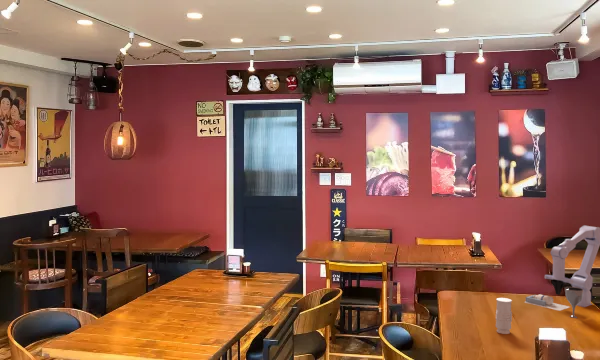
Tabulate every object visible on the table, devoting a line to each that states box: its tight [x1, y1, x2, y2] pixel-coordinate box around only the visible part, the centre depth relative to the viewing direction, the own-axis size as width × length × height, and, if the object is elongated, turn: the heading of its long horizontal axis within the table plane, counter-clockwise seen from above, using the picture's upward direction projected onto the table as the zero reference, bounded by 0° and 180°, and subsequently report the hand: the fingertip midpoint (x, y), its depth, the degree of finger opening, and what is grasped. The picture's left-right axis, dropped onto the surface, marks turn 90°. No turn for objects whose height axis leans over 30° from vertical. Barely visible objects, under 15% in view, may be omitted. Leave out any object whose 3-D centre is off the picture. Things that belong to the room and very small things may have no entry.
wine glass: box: [564, 286, 583, 319], centre depth 261 cm, size 8×8×15 cm
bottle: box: [532, 293, 554, 305], centre depth 286 cm, size 5×5×10 cm
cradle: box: [524, 294, 570, 312], centre depth 284 cm, size 12×20×3 cm, turn 37°
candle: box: [495, 297, 513, 335], centre depth 240 cm, size 7×7×15 cm
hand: (558, 294), depth 279 cm, fingers closed
